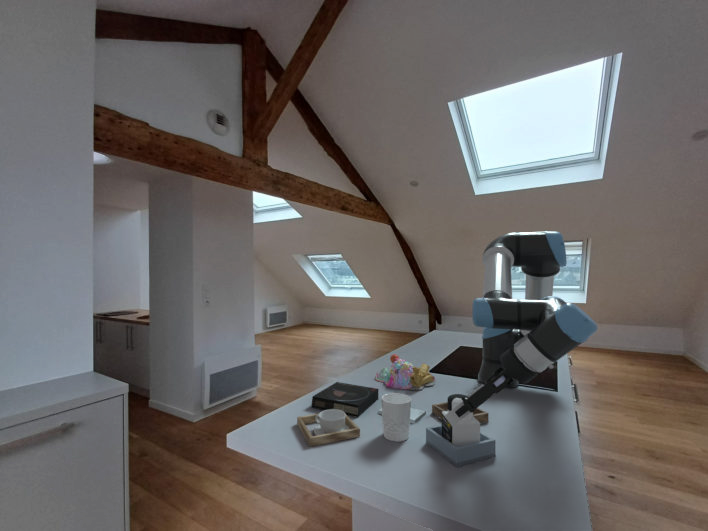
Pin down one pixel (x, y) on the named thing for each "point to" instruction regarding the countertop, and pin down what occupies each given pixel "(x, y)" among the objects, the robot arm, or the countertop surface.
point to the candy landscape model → (405, 375)
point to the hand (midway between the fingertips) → (458, 411)
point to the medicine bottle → (460, 425)
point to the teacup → (330, 422)
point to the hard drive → (412, 415)
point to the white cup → (396, 416)
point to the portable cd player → (345, 398)
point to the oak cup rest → (329, 437)
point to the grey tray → (461, 453)
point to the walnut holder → (440, 407)
